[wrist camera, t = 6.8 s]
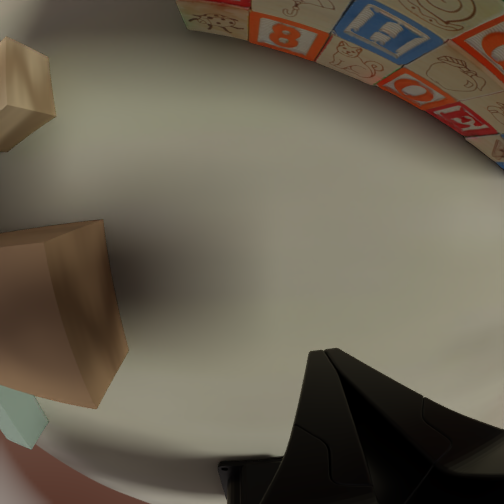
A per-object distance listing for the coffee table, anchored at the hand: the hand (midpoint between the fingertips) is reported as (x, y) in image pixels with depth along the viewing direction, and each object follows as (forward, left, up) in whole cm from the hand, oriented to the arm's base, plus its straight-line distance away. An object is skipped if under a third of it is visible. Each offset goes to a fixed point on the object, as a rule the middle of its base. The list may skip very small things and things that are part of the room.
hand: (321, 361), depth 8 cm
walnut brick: (0, +14, -6) cm, 15 cm away
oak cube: (+11, +14, -6) cm, 18 cm away
